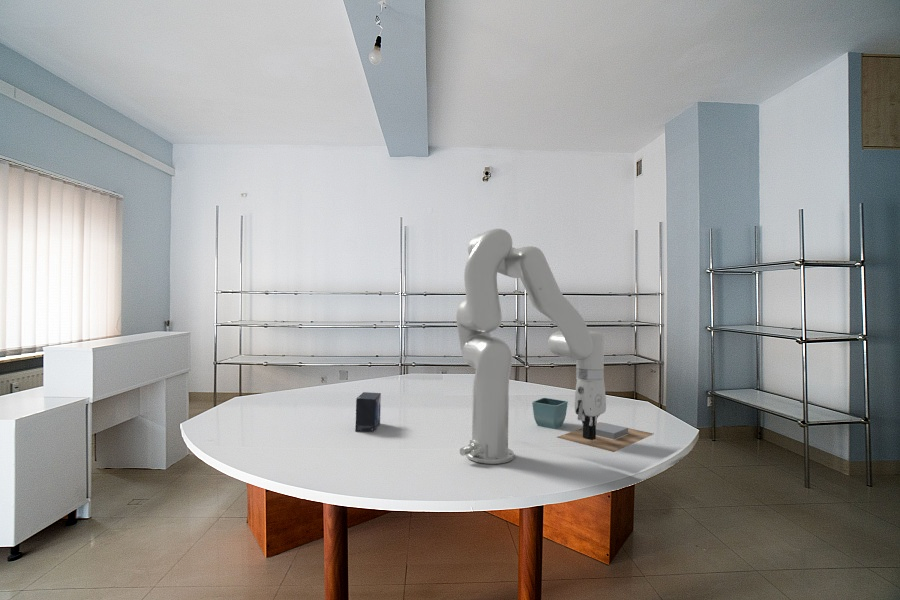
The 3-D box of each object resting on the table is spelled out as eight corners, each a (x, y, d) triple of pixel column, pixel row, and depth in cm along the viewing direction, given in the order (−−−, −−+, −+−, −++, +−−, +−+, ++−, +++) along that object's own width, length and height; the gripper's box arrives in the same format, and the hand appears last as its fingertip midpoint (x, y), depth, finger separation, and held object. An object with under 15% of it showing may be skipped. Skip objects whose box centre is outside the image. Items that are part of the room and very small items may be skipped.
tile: (614, 433, 136) (628, 427, 142) (589, 427, 142) (603, 422, 148) (613, 440, 136) (628, 434, 142) (589, 434, 142) (603, 428, 148)
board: (613, 456, 125) (613, 451, 125) (556, 441, 138) (556, 437, 138) (654, 437, 143) (654, 433, 143) (599, 425, 156) (599, 422, 156)
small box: (375, 432, 146) (376, 398, 146) (354, 432, 146) (355, 398, 146) (381, 423, 156) (381, 392, 156) (361, 423, 156) (362, 391, 156)
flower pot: (556, 434, 146) (557, 405, 146) (531, 429, 151) (531, 401, 151) (568, 428, 153) (568, 401, 153) (543, 424, 158) (543, 397, 158)
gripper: (588, 379, 126) (587, 447, 126) (614, 373, 137) (614, 436, 137) (564, 375, 132) (563, 440, 132) (591, 370, 142) (590, 431, 142)
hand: (589, 438), depth 134 cm, fingers closed
